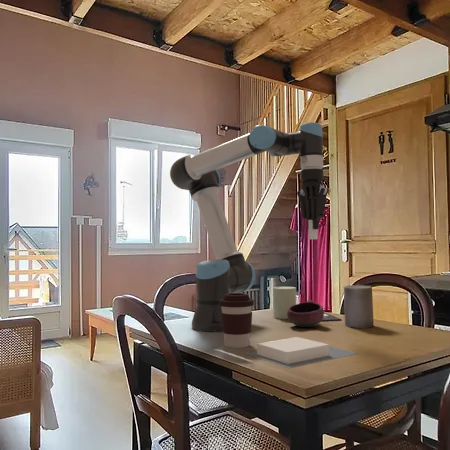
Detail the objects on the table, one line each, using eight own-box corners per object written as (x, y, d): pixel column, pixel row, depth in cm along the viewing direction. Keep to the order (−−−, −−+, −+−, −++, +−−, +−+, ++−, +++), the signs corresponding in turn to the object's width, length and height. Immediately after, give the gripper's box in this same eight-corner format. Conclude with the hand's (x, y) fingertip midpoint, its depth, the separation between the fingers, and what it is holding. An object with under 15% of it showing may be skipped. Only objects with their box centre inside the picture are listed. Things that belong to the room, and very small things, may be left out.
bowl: (329, 329, 161) (329, 305, 161) (292, 330, 159) (291, 306, 159) (314, 321, 176) (314, 299, 177) (281, 322, 175) (280, 300, 175)
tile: (297, 347, 132) (257, 354, 124) (297, 336, 132) (257, 343, 124) (329, 355, 122) (287, 363, 114) (328, 344, 122) (287, 352, 114)
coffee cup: (230, 341, 143) (229, 291, 143) (260, 345, 138) (259, 293, 138) (213, 348, 134) (212, 295, 135) (244, 352, 129) (243, 296, 130)
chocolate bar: (318, 320, 176) (302, 312, 194) (318, 322, 176) (302, 315, 194) (341, 319, 177) (323, 312, 195) (341, 321, 177) (323, 314, 195)
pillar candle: (369, 323, 171) (367, 281, 172) (377, 328, 161) (375, 283, 162) (342, 323, 171) (340, 282, 172) (348, 328, 162) (346, 284, 162)
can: (270, 315, 191) (270, 285, 192) (293, 314, 192) (292, 285, 193) (275, 319, 182) (275, 287, 182) (299, 318, 183) (298, 287, 183)
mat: (243, 355, 125) (243, 353, 125) (310, 343, 139) (310, 341, 139) (288, 370, 110) (288, 368, 110) (358, 355, 124) (358, 353, 124)
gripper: (290, 171, 164) (291, 239, 163) (317, 165, 153) (319, 239, 152) (306, 172, 168) (307, 239, 167) (334, 167, 157) (335, 239, 156)
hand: (313, 239), depth 160 cm, fingers closed
